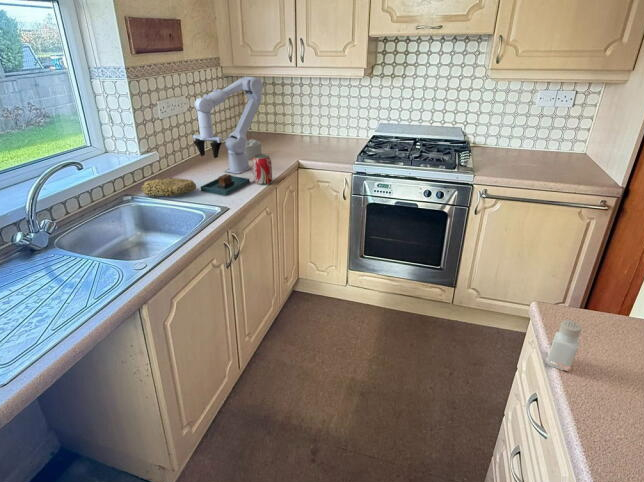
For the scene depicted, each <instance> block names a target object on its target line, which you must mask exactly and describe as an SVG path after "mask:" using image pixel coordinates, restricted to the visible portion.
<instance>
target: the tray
mask: <svg viewBox="0 0 644 482" xmlns="http://www.w3.org/2000/svg"><path fill="white" fill-rule="evenodd" d="M231 179H232V181H234V184H233V185H232V186H230V187H228V188H226V189H221V188H217V184H219V179H218V178H216V179H214V180H212V181H208V182H207V183H205V184H203V185H201V186H200V192H204V193H209V194H214V195H220V196H224V197H225V196H226V197H227V196H228V195H231V194H232V193H234V192H237V191H238V190H239V189H241V188H243V187H245V186H247V185H249V184H250V183H251V178H248V177H243V176H242V177H241V176H235V175H231Z"/></svg>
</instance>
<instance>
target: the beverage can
mask: <svg viewBox="0 0 644 482" xmlns="http://www.w3.org/2000/svg"><path fill="white" fill-rule="evenodd" d="M252 166H253V167H252V169H253V182H254V183H255V184H256V185H260V186H267V185H269V184H271V182H273V166H272V158H271V157H270V154H267V153H262V154H258V155H255V156H254V159H252Z"/></svg>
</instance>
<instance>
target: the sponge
mask: <svg viewBox="0 0 644 482" xmlns="http://www.w3.org/2000/svg"><path fill="white" fill-rule="evenodd" d="M196 190H197V183H195V182H194V180H192V179H187V178H177V177H169V178H162V179H158V178H156V179H151V180H147V181H145V182H144V183H143V184H142V185H141V191H142V192H143V194H144V195H146V196H150V197H177V196H182V195H187V194H190V193H192V192H195V191H196Z"/></svg>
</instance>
